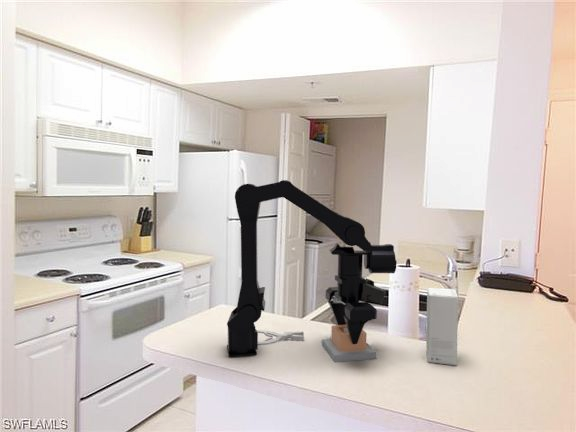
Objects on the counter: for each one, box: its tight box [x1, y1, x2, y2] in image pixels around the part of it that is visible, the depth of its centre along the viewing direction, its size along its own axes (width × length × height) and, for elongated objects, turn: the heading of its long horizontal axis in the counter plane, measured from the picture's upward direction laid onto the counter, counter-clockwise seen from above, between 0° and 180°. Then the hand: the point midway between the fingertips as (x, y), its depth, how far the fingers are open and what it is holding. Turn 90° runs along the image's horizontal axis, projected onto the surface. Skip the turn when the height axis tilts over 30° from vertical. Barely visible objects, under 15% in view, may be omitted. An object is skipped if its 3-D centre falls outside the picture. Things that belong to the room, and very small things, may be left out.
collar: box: [330, 324, 367, 352], centre depth 100 cm, size 6×6×4 cm
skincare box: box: [426, 287, 459, 366], centre depth 97 cm, size 8×7×16 cm
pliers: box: [256, 329, 305, 346], centre depth 109 cm, size 10×2×15 cm
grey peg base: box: [321, 328, 378, 363], centre depth 100 cm, size 10×10×6 cm
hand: (348, 337), depth 100 cm, fingers open, 8 cm apart
